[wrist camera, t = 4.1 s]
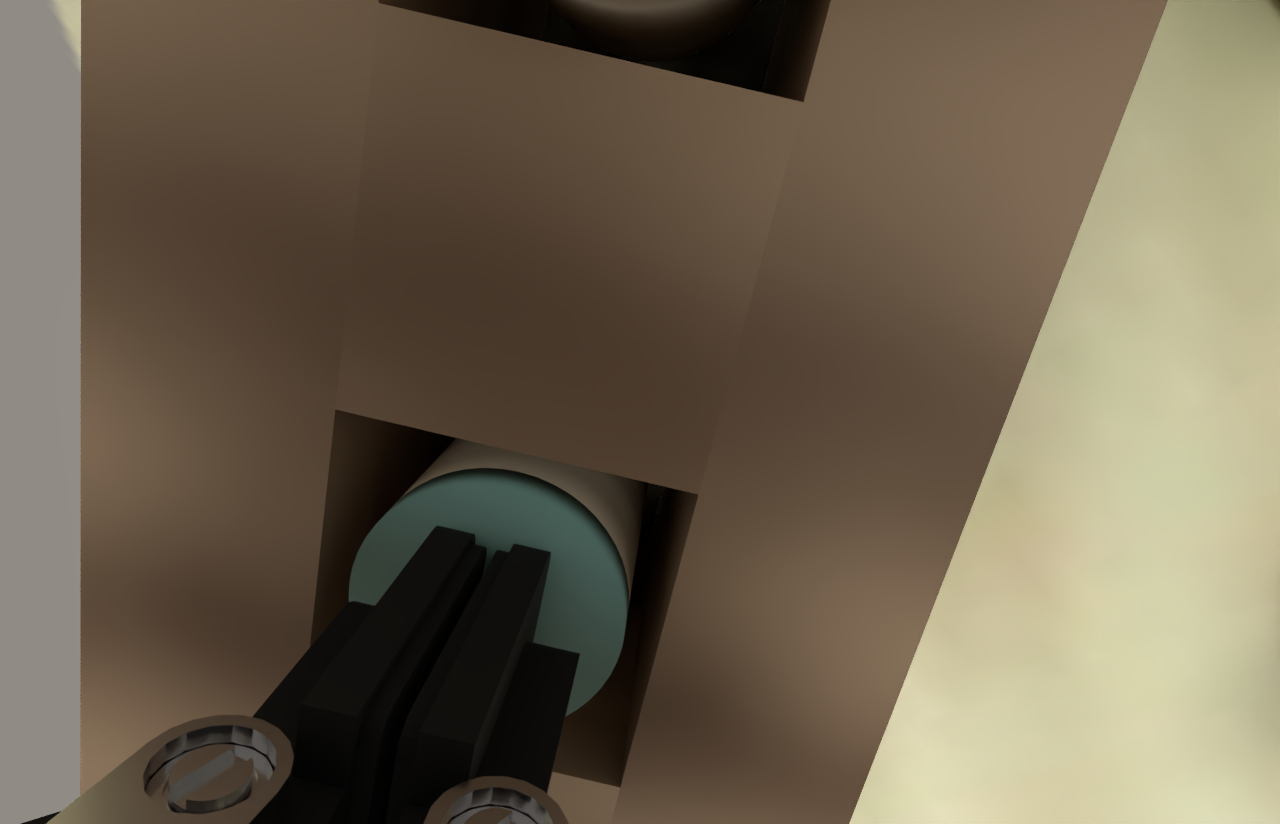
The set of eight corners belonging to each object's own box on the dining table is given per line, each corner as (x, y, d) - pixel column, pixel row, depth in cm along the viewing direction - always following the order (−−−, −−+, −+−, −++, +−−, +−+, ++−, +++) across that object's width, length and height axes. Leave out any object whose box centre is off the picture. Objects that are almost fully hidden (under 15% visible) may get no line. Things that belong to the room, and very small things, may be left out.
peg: (513, 332, 19) (365, 454, 10) (671, 369, 19) (653, 521, 10) (487, 479, 20) (335, 697, 11) (636, 514, 20) (594, 758, 11)
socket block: (437, -410, 15) (81, -1229, 6) (1038, -270, 15) (1514, -896, 6) (327, 572, 21) (80, 836, 13) (745, 670, 21) (780, 1000, 13)
